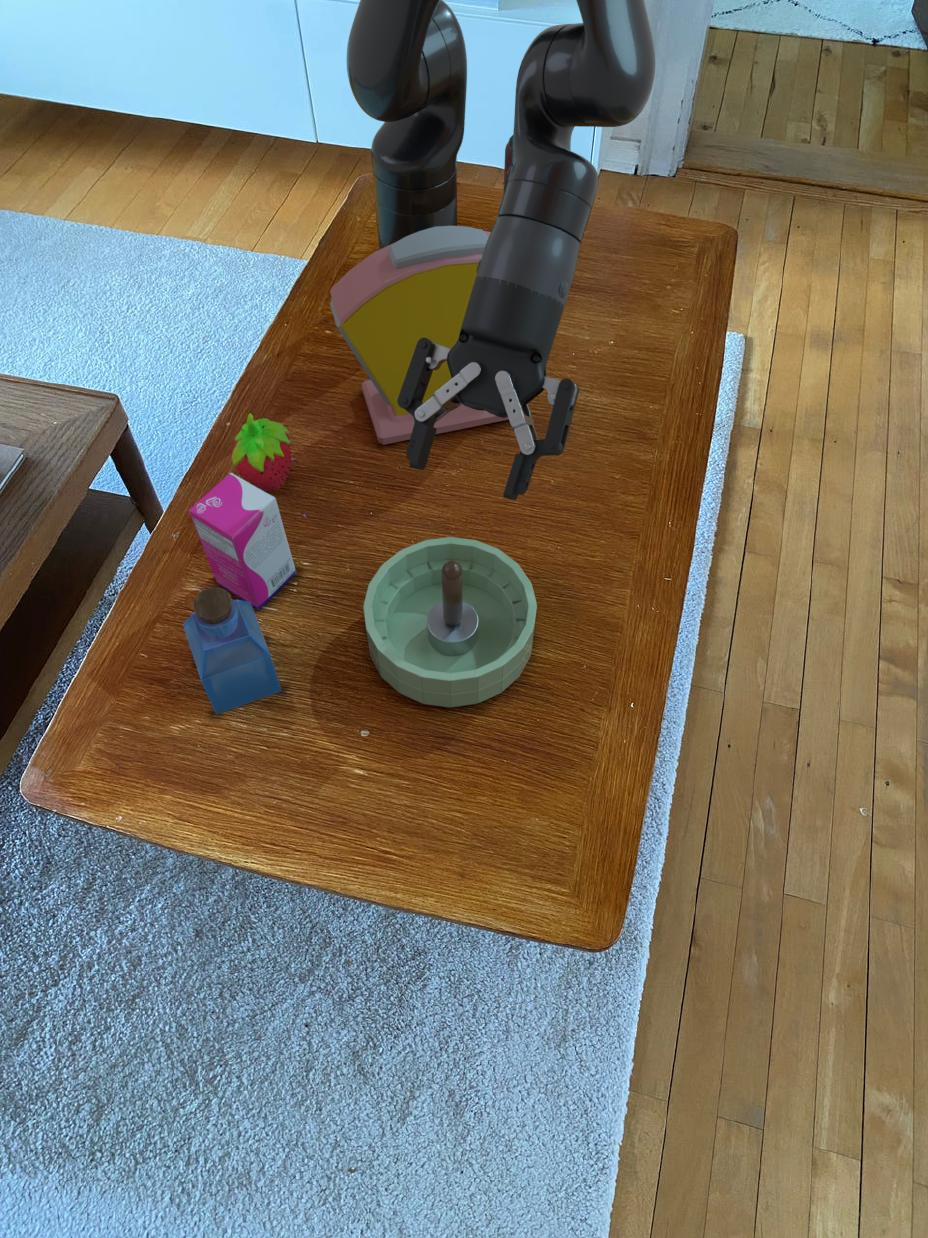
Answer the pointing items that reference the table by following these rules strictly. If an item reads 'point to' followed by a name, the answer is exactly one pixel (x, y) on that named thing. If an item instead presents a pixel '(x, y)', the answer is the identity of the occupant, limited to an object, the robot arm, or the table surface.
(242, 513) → the supplement box
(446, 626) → the peg on round base
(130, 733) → the table surface
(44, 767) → the table surface
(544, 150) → the robot arm
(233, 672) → the perfume bottle
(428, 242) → the pink and yellow fan
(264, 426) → the strawberry
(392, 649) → the bowl
